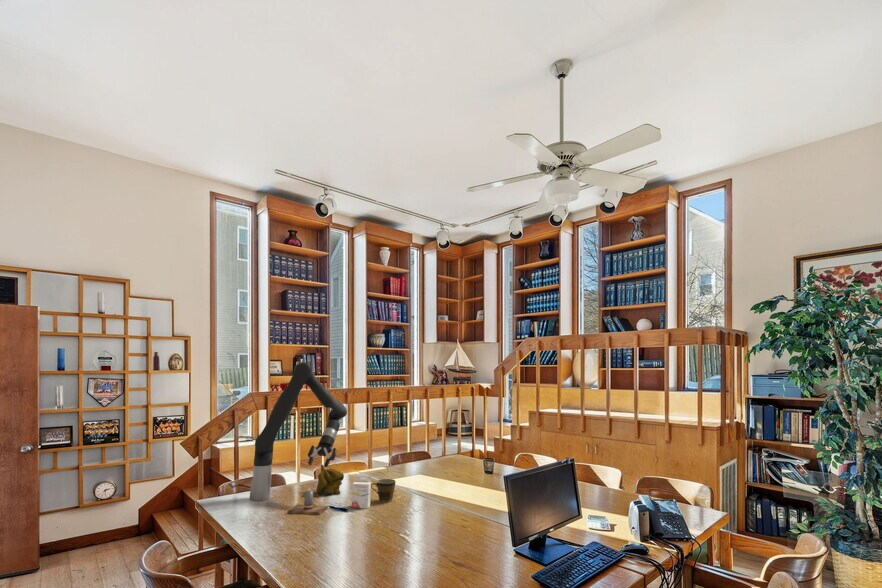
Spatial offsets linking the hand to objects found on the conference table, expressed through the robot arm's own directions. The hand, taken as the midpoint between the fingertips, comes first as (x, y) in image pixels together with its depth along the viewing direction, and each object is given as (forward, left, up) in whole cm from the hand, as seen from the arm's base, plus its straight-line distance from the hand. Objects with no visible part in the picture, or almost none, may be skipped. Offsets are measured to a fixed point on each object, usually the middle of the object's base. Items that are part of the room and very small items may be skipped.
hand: (317, 465), depth 246 cm
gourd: (-2, +21, -19) cm, 28 cm away
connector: (+1, -12, -17) cm, 21 cm away
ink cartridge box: (+24, -1, -19) cm, 31 cm away
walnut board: (+1, -12, -19) cm, 22 cm away
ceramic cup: (+32, +11, -19) cm, 39 cm away
